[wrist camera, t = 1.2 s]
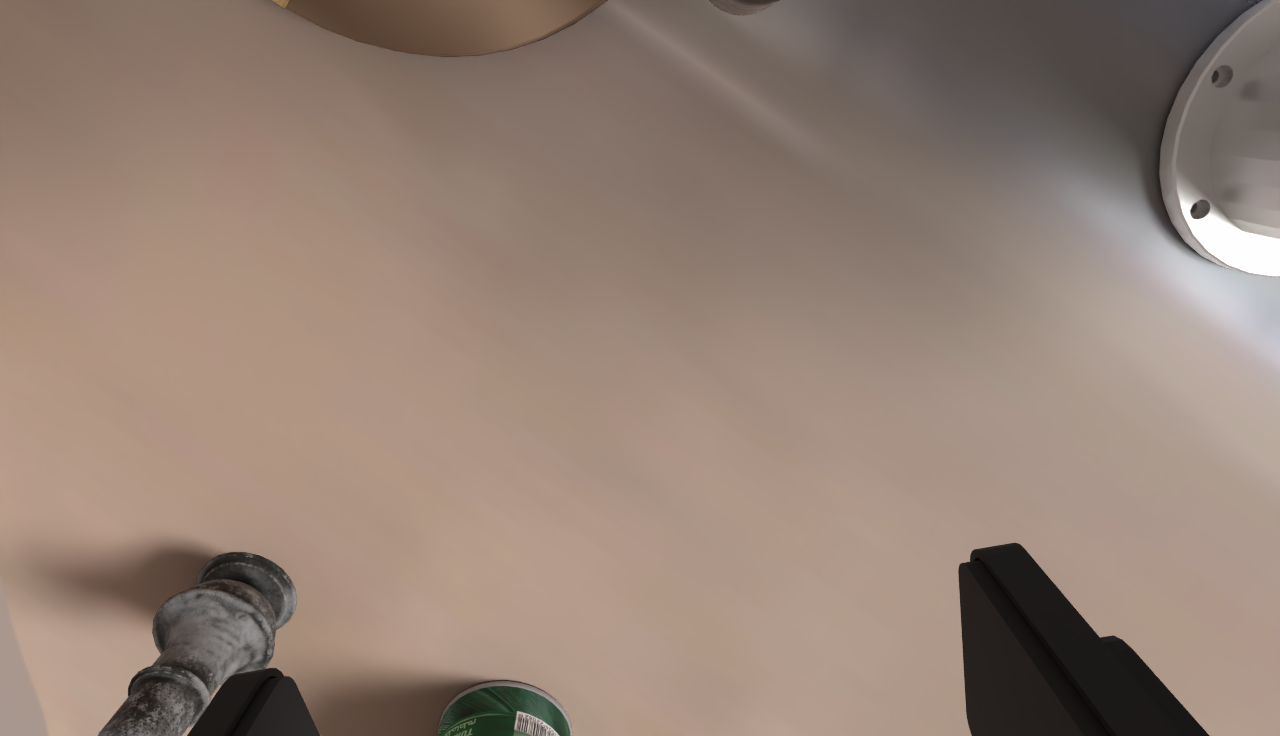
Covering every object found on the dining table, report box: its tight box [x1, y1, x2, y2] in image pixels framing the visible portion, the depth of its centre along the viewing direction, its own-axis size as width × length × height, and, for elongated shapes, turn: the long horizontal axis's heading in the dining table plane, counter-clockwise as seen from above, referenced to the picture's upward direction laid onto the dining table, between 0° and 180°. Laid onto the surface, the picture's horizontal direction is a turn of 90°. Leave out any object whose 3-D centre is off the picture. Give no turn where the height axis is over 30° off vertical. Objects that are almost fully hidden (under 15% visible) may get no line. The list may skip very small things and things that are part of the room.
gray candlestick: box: [98, 553, 297, 736], centre depth 35 cm, size 6×6×12 cm
